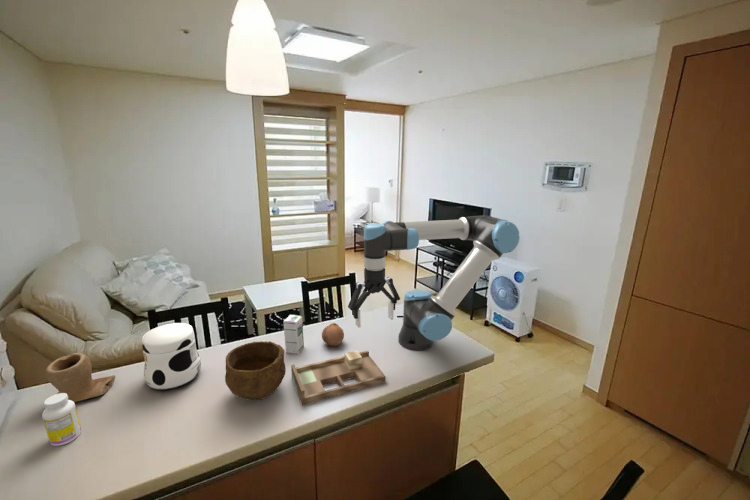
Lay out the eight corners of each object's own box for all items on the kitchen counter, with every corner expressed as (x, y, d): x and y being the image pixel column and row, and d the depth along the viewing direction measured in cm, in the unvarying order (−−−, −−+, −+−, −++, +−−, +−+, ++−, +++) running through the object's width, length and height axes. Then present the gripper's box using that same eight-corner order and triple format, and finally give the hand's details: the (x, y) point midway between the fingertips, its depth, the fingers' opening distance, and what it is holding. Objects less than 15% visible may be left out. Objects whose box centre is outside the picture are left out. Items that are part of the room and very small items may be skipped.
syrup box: (298, 354, 137) (297, 321, 133) (284, 352, 138) (283, 320, 134) (304, 347, 142) (302, 315, 139) (291, 345, 143) (289, 314, 140)
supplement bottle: (63, 428, 97) (53, 390, 94) (87, 427, 98) (78, 389, 95) (43, 448, 91) (31, 407, 88) (69, 446, 91) (59, 406, 88)
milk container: (139, 378, 120) (131, 332, 115) (191, 359, 132) (186, 317, 128) (154, 402, 109) (146, 352, 104) (209, 378, 121) (204, 333, 116)
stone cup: (45, 415, 102) (34, 372, 98) (61, 391, 113) (51, 351, 109) (107, 401, 108) (98, 360, 105) (117, 380, 119) (109, 342, 115)
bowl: (297, 382, 119) (295, 345, 116) (264, 419, 102) (260, 376, 98) (253, 371, 125) (250, 335, 122) (214, 404, 108) (209, 363, 104)
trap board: (367, 359, 134) (367, 347, 133) (385, 382, 121) (385, 368, 119) (291, 378, 122) (291, 364, 120) (301, 405, 108) (301, 391, 107)
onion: (332, 345, 149) (333, 322, 151) (348, 347, 144) (349, 323, 146) (316, 346, 142) (317, 322, 144) (332, 348, 136) (333, 322, 138)
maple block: (356, 359, 130) (356, 350, 129) (361, 366, 125) (362, 357, 124) (344, 362, 128) (344, 353, 127) (349, 369, 123) (349, 360, 122)
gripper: (399, 260, 129) (398, 311, 134) (337, 269, 118) (339, 324, 123) (410, 265, 122) (408, 319, 128) (346, 276, 111) (347, 334, 117)
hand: (374, 322), depth 126 cm, fingers open, 13 cm apart
